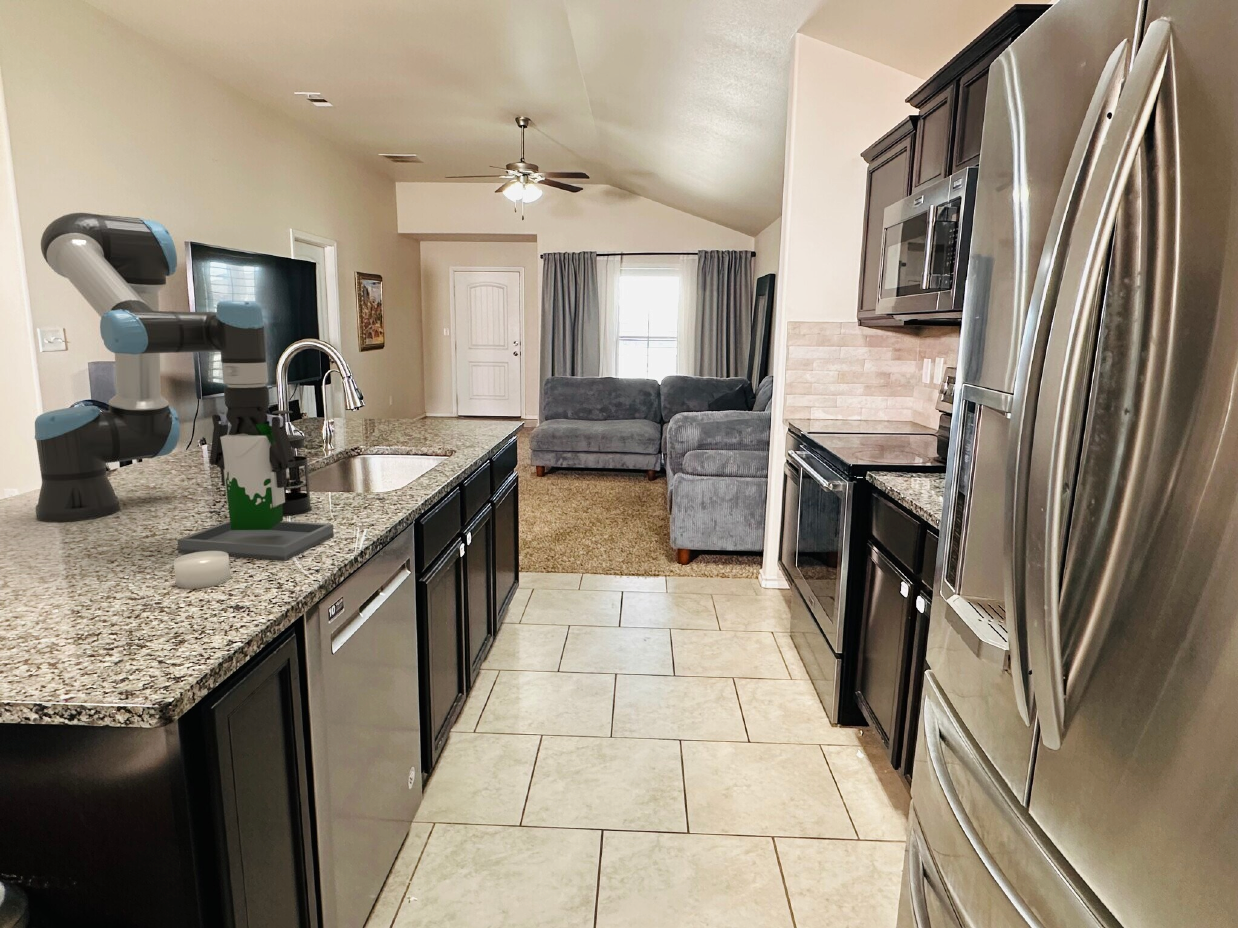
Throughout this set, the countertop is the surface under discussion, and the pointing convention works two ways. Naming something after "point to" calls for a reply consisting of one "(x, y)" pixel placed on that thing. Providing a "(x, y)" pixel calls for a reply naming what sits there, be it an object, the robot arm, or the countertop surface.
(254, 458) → the soya milk
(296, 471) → the french press
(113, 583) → the countertop surface
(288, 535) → the tray
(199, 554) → the cream glossy pebble
